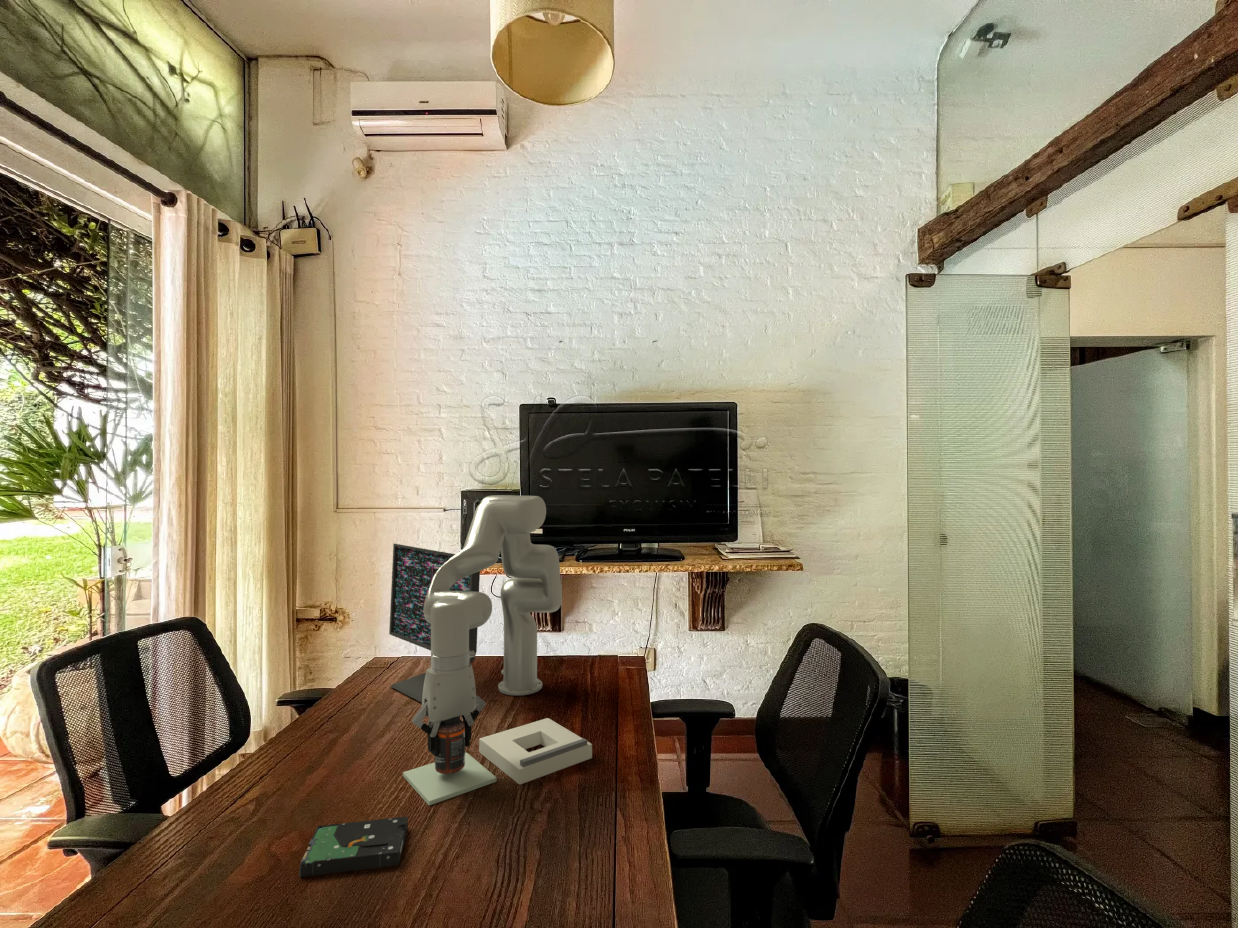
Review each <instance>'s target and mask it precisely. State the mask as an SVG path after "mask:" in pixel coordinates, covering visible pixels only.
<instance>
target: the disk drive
mask: <svg viewBox="0 0 1238 928" xmlns="http://www.w3.org/2000/svg"><path fill="white" fill-rule="evenodd" d="M408 818H409V817H408V816H398V817H397V816H396V817H391V818H390V817H389V818H381V819H373V820H371V819H370V820H363V821H362V820H361V821H351V822H344V823H332V824H324V825H317V826H316V829H315V831H314V832H313V835H312V837H311V839H310V840H309V843H308V846H307V848H306V850H305V853H304V855H303V857H302V859H301V860H300V865H299V878H303V877H311V876H313V877H315V876H322V875H328V874H335V873H336V874H337V873H344V872H351V871H359V870H368V869H376V868H377V869H378V868H387V867H392V866H399V865H400V862H401V858H402V854H403V849H404V846H405V840H406V837H407V833H408V828H409V827H408V826H409V824H408V822H409V821H408V820H409V819H408Z"/></svg>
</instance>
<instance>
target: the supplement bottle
mask: <svg viewBox="0 0 1238 928" xmlns="http://www.w3.org/2000/svg"><path fill="white" fill-rule="evenodd" d="M437 735H438V736H439V755H438V756H436V757H435V756H434V762H435V769H436V771H437V772H438V773H441V774H453V773H456V772H458V771H460V770H461V769H463V767H464V766H465V753H466V746H465V724H464V722H463V720H461V716H459V717H453V718H450V719H448V720H444V721H441V722H440V725H439V728H438V731H437Z"/></svg>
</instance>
